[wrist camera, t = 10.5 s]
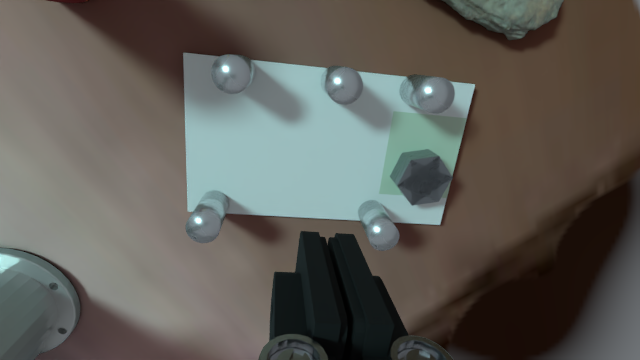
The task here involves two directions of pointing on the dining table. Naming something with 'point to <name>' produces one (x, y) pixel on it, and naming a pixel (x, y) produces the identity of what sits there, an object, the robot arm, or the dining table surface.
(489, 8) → the elongated rock
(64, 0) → the paper cup
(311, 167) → the board
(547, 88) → the dining table surface
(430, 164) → the grey faceted hexagonal block
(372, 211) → the spacers
